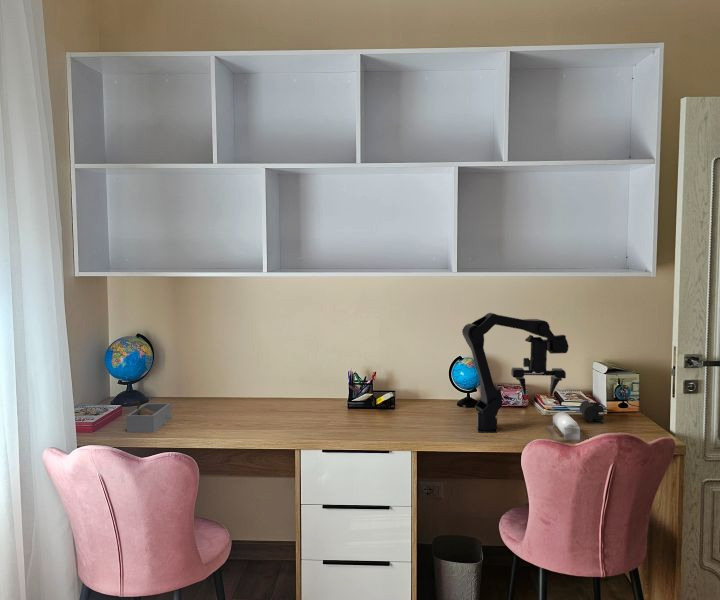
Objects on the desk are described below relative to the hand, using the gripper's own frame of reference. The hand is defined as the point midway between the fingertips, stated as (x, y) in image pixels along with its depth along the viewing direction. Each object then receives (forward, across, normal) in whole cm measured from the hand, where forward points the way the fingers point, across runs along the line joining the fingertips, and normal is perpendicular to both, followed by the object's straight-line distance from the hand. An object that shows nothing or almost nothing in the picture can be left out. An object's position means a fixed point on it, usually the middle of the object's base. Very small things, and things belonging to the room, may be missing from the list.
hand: (537, 396), depth 257 cm
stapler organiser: (+13, +144, +4) cm, 145 cm away
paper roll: (+11, -8, +10) cm, 16 cm away
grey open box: (+13, +146, +4) cm, 147 cm away
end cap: (+12, -23, -12) cm, 28 cm away
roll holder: (+12, -8, +10) cm, 17 cm away
